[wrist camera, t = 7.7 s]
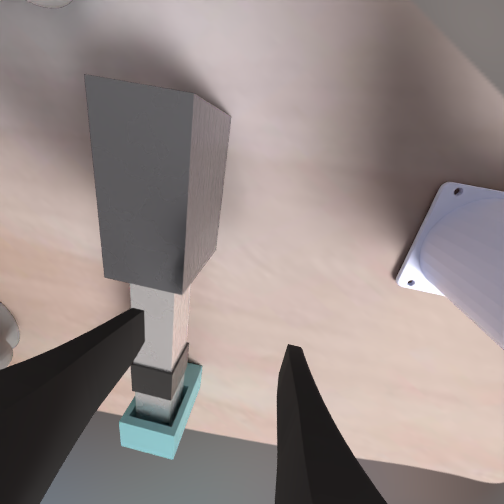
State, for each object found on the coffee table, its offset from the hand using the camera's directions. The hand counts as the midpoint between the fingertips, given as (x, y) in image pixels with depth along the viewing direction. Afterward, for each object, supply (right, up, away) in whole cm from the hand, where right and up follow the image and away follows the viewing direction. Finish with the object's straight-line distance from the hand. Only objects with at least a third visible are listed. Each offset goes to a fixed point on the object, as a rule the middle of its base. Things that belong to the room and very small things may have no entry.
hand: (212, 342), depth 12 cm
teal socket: (-6, -9, +15) cm, 19 cm away
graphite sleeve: (-3, +10, +7) cm, 12 cm away
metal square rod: (-5, -1, +8) cm, 10 cm away
